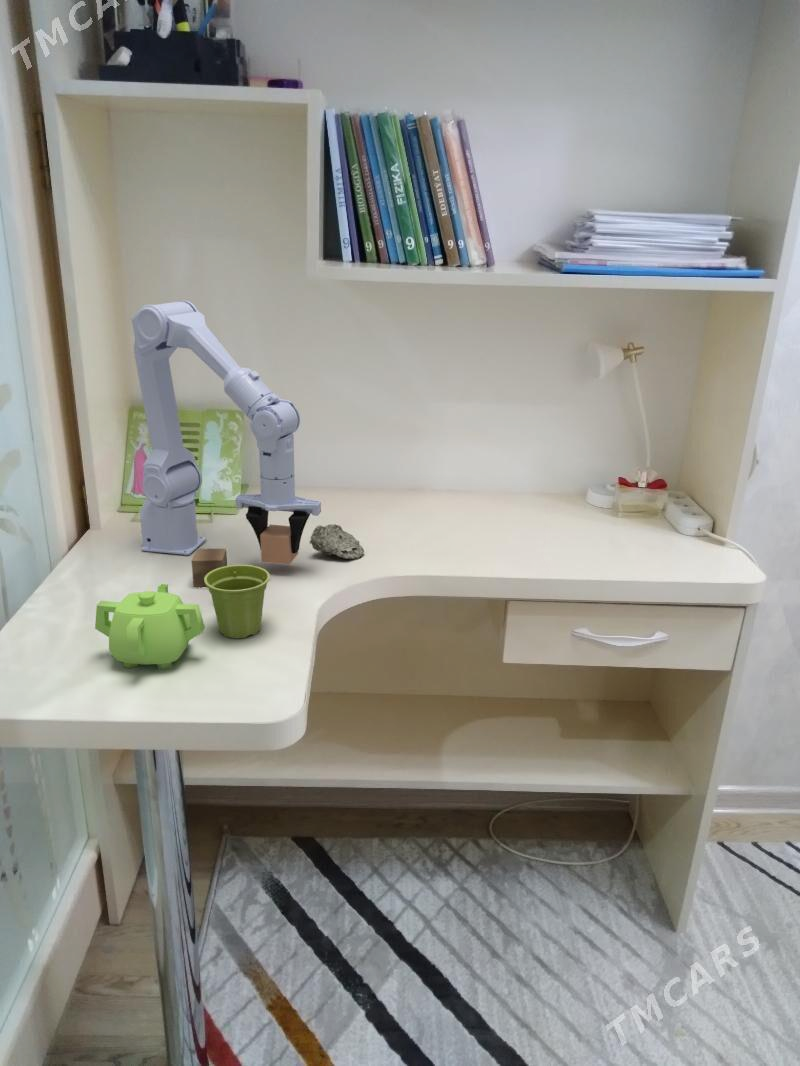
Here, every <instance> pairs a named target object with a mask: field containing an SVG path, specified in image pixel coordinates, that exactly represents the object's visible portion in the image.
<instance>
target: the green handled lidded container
mask: <svg viewBox="0 0 800 1066" xmlns="http://www.w3.org/2000/svg"><path fill="white" fill-rule="evenodd" d="M157 587H158V588H157V590H156V591H151V590H146V591H140V592H132V593H128V594H126V595H125V597H123V599H122V600H121V601H120V602H119V601H109V600H100V601H99V603H97V604H96V611H95V626H94V630H97V631H98V632H100V633H101V634H102V635H105V636H106V637H108V650H109V652H110V654H111V656H112V657H113V658H114V659H115V660H116V661H118V662H121V663H123V664H122V665H123V668H125V669H133V668H136V667H138V665H157V668H158V669H159V670H168V669H170V668H171V667H173V664H172V663H173V662H176V661H178V659H179V658H180V657H181V656H182V654H183V653H184V652H185V650H186V648H187V646H188V643H189V642H190V641H191V640H192V639H194V638H196V637H197V636H199V635H201V634H202V633H203V632H204V630H205V628H206V627H205V622H204V619H203V616H202V612H201V608H200V606H199V604H196V603H195V604H193V603H191V604H190V603H189V604H188V603H187V604H185V603H184V602H183V600H182V599H181V597H180V595H178V594H176V593H175V594H174V593H171V592H169V584H168V583H160V584H159V585H158V586H157ZM110 613H112V614H113V615H112V618H111V620H110Z"/></svg>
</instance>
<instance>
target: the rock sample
mask: <svg viewBox="0 0 800 1066" xmlns="http://www.w3.org/2000/svg"><path fill="white" fill-rule="evenodd" d="M308 540H309V542H308V544H309V545H310V544H311V546H312V548H313V549H314V550H315V551H319V552H320V553H322V554H323V555H325V556H329V555H330V554H331V555H334V556H335V555H336V556H337V557H339V558H343V559H345V560H347V559H348V560H355V559H356V560H358V559H359V558H360V557H362V556H363V554H364V552H365V549H364V547H363V546H362V545H361V544H360V541H359V540H358V539H356V538H355V537H354V535H353V534H351V533H349V532H348V531H344V530H343V528H342V526H341V525H340V524H336V523H334V524H332V523H330V524H327V525H324V526H322V525H317V526H316V527H315V528H314V529H313V531H312V533H311V536H310V537H309V539H308ZM361 543H362V542H361ZM331 555H330V556H331Z"/></svg>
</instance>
